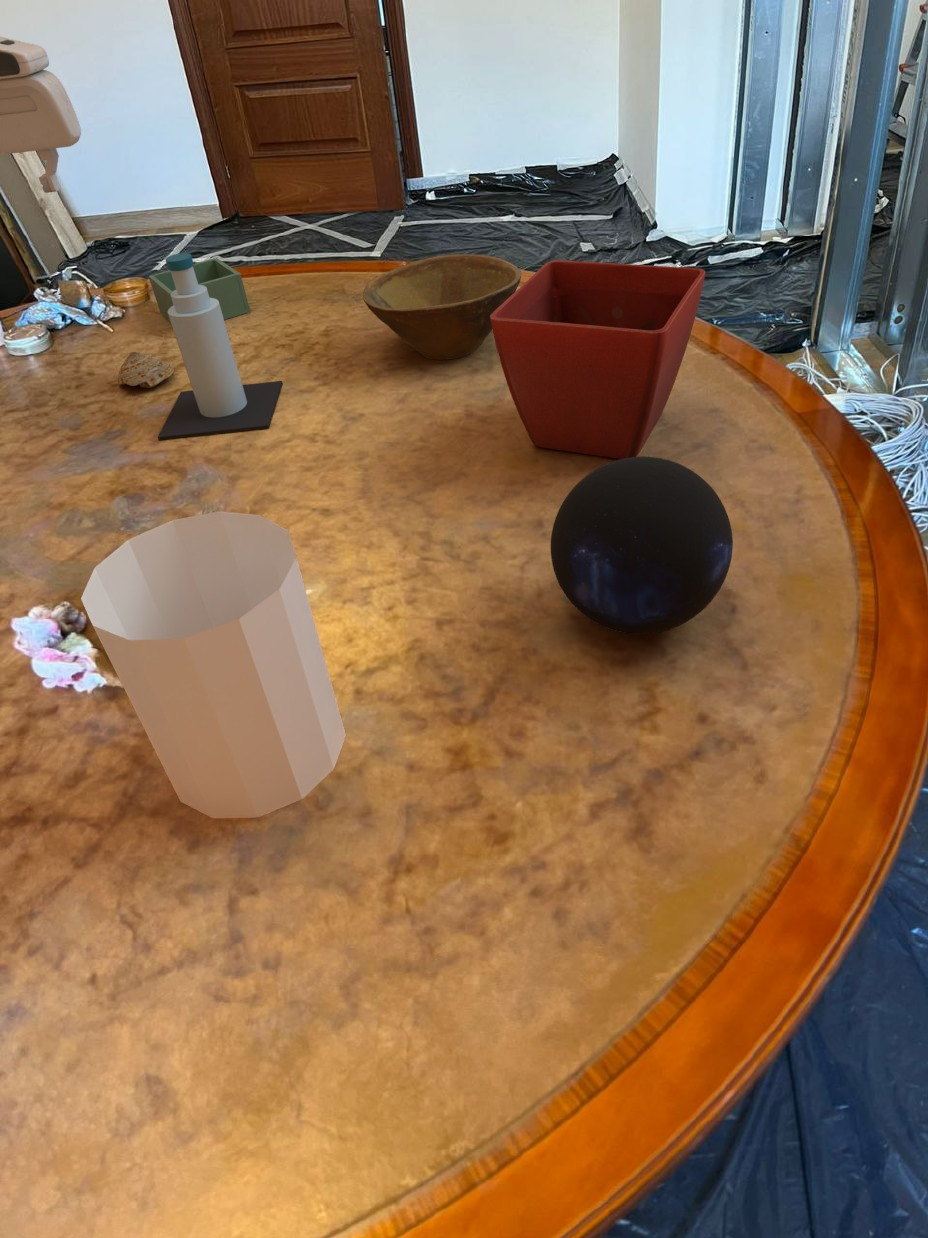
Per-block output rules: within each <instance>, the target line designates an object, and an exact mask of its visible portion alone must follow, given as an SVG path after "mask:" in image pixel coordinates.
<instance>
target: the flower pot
mask: <svg viewBox="0 0 928 1238" xmlns="http://www.w3.org/2000/svg"><path fill="white" fill-rule="evenodd" d="M705 278H706V271H705V269H704V268H699V267H682V266H666V265H664V266H663V265H648V264H630V263H613V262H595V261H580V260H579V261H577V260H573V261H572V260H560V259H559V260H557V259H555V260H550V261H547V262H545V263H544V264H543V265H542V266H541V267H540V268H539V269H538V270H537V271H536V272H535V273H534V274H533V275H532V276H530V278H529V279H527V280H526V281H525V282H524V283H523V284H522V285H521V286H520V287H519V288H517V289H516V292H515V293H514V294H513V295H511V296H510V297H509V298H508V299H507V300H506V301H505V302H504V303H503V304H502V305H501V306H499V307H498V308H497V309H496V310H495V311H494V312H493V313H492V314H491V315H490V319H491V325H492V330H491V331H492V335H493V338H494V342H495V346H496V350H497V355H498V358H499V362H500V365H501V369H502V372H503V375H504V378H505V382H506V384H507V387H508V390H509V393H510V396H511V399H512V401H513V403H514V406H515V409H516V411H517V413H518V415H519V418H520V419H521V422H522V424H523V426H524V428H525V431H526V433H527V435H528V437H529V440H530V441H531V443H532V444H533V445H534V446H535V447H538V448H545V449H549V450H557V451H564V452H571V453H578V454H585V455H589V456H590V455H592V456H597V457H603V458H611V459H617V460H620V459H625V458H630V457H638V455H639V454H640V452H641V450H642V449H643V447H644V445H645V444H646V442H647V440H648V438H649V437H650V435H651V433H652V432H653V430H654V428H655V427H656V425H657V423H658V422H659V420H660V418H661V416H662V415H663V413H664V410H665V408H666V406H667V403H668V401H669V399H670V396H671V393H672V390H673V388H674V385H675V383H676V379H677V377H678V374H679V371H680V368H681V366H682V363H683V359H684V356H685V354H686V351H687V348H688V344H689V341H690V337H691V335H692V331H693V327H694V323H695V319H696V316H697V312H698V309H699V304H700V301H701V296H702V292H703V288H704V282H705Z"/></svg>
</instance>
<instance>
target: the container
mask: <svg viewBox="0 0 928 1238" xmlns="http://www.w3.org/2000/svg"><path fill="white" fill-rule="evenodd" d="M80 600H81V602H82V604H83V606H84V609H85V612H86V614H87V616H88V618H89V620H90V623H91V625H92V627H93V629H94V631H95V633H96V636H97V637H98V639H99V641H100V643H101V645H102V647H103V649H104V652H105V653H106V655H107V657H108V659H109V662H110V663H111V665H112V667H113V670H114V671H115V673H116V675H117V678H118V679H119V681H120V683H121V685H122V688H123V690H124V691H125V694H126V695H127V697H128V699H129V702H130V703H131V706H132V707H133V709H134V711H135V714H136V716H137V717H138V719H139V722H140V724H141V725H142V728H143V730H144V732H145V734H146V735H147V738H148V740H149V741H150V743H151V746H152V748H153V750H154V752H155V753H156V755H157V758H158V759H159V761H160V763H161V766H162V768H163V769H164V772H165V773H166V776H167V778H168V780H169V781H170V784H171V786H172V788H173V789H174V792H175V794H176V795H177V798H178V800H179V802H180V803H182V804H184V805H185V806H188V807H189V808H192V809H194V810H196V811H197V812H200V813H202V814H204V815H205V816H208V817H210V818H211V819H246V818H248V819H249V818H260V817H262V816H265V815H267V814H270V813H273V812H275V811H277V810H279V809H283V808H284V807H287V806H289V805H292V804H294V803H297V802H299V801H302V800H303V799H304V798H305V797H306V796H308V795H309V793H311V792H312V791H313V790H314V789H315V788H316V787H317V786H318V785H320V783H321V782H322V781H323V780H324V779H325V778H327V777H328V776H329V774H330V773H332V772H333V771H334V770H335V768H336V764H337V762H338V759H339V756H340V754H341V751H342V748H343V746H344V743H345V741H346V738H347V733H346V731H345V726H344V723H343V720H342V716H341V712H340V709H339V704H338V701H337V698H336V694H335V691H334V687H333V683H332V679H331V676H330V672H329V669H328V665H327V662H326V658H325V655H324V651H323V647H322V644H321V640H320V637H319V633H318V630H317V626H316V623H315V622H316V621H315V618H314V616H313V615H314V614H313V611H312V608H311V604H310V601H309V597H308V593H307V590H306V587H305V583H304V579H303V575H302V571H301V567H300V565H299V561H298V557H297V554H296V551H295V547H294V544H293V540H292V537H291V534H290V530H288V529H286V528H284V527H283V526H281V525H279V524H277V523H276V522H274V521H272V520H270V519H268V518H267V517H265V516H264V515H262V514H252V513H242V512H232V511H231V512H230V511H220V510H219V511H214V512H208V513H202V514H197V515H192V516H185V517H181V518H175V519H172V520H170V521H167V522H165V523H163V524H160V525H157V526H156V527H153V528H151V529H149V530H147V531H145V532H142V533H140V534H138V535H136V536H133V537H131V538H129V539H127V540H126V541H125V542H123V543H122V544H121V545H120V546H119V547H118V548H116V549H115V550H114V551H113V552H111V554H109V555H107V557H106V558H104V559H103V560H102V561H100V562H99V563H98V564H97V565H96V566H94V568H93V570H92V572H91V574H90V577H89V579H88V581H87V584H86V585H85V588H84V590H83V593H82V595H81V597H80Z"/></svg>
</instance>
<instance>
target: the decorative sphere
mask: <svg viewBox="0 0 928 1238" xmlns="http://www.w3.org/2000/svg"><path fill="white" fill-rule="evenodd" d="M733 539H734V538H733V530H732V525H731V521H730V518H729V515H728V513H727V510H726V508H725V506H724V504H723V502H722V500H721V498H720V496H719V495H718V494H717V492H716V491H715V489H714V488H712V486H711V485H710V484H709V483H708V482H707V481H706V480H705V479H704V478H703V477H702V476H700V475H699V474H698V473H697V472H695V471H693V470H692V469H690V468H688V467H687V466H684V465H683V464H680V463H678V462H675V461H673V460H669V459H665V458H662V457H655V456H637V457H630V458H625V459H617V460H614V461H611V462H608V463H606V464H603V465H601V466H600V467H597V468H596V469H594V470H592V471H591V472H589V473H588V474H587V475H585V476H584V477H583V478H582V479H580V480H579V481H578V482H577V483H576V484H575V485H574V486H573V487H572V489H571V490H570V491H569V493H568V494H567V495H566V496H565V498H564V499H563V501H562V503H561V505H560V506H559V508H558V511H557V512H556V516H555V519H554V522H553V525H552V530H551V537H550V558H551V565H552V569H553V572H554V575H555V577H556V581H557V583H558V585H559V587H560V589H561V590H562V592H563V593H564V595H565V597H566V598H567V600H568V601H569V602H570V604H571V605H572V606H573V607H574V608H575V609H576V610H577V611H578V612H579V613H580V614H582V615H583V616H584V617H586V618H587V619H589V620H590V621H592V622H593V623H595V624H597V625H599V626H601V627H604V628H606V629H608V630H611V631H614V632H618V633H623V634H629V635H630V634H631V635H651V634H656V633H663V632H665V631H669V630H672V629H674V628H677V627H680V626H682V625H684V624H685V623H688V622H689V621H690V620H692V619H693V618H695V617H696V616H697V615H699V614H700V613H702V611H704V610H705V609H706V608H707V607H708V606H709V605H710V603H711V602H712V601H713V600H714V598H715V597H716V596H717V595H718V593H719V592H720V590H721V588H722V586H723V584H724V583H725V580H726V578H727V576H728V573H729V570H730V566H731V562H732V556H733V548H734V547H733V545H734V540H733Z"/></svg>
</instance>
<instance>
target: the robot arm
mask: <svg viewBox="0 0 928 1238" xmlns="http://www.w3.org/2000/svg"><path fill="white" fill-rule="evenodd" d="M49 66H50V60H49V56H48V53H47V51H46V49H45V48H44V47H43V46H41V45H38V44H34V43H29V42H25V41H21V40H16V39H12V38H7V37H5V36H4V37H3V36H0V156H2V155H11V154H20V153H27V152H29V153H30V152H35V151H36V152H38V156H39V158H40V160H41V161H43V162H44V161H46V162H45V172H44V173H43V174H42V175H40V176H38V180H39V183H40V185H41V186H42V187H41V188H42V190H43V192H44V193H45V194H48V193H56V192H59V191H60V190H61V184H60V182H59V179H58V177H57V169H58V162H59V157H60V155H59V152H58V150H57V149H60V148H70V147H72V146H74V145H75V144H77V143H78V142H79V141H80V139H81V135H82V128H81V127H82V126H81V124H80V121H79V118H78V115H77V113H76V111H75V108H74V105H73V104H72V101H71V99H70V96H69V95H68V93H67V91H66V88H65V86H64V85H63V83H62V82H61V80H60V79H59V78H58V76H57V75H55V73H53V72H52V71H49V70H47V69H46V68H48V67H49Z"/></svg>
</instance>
